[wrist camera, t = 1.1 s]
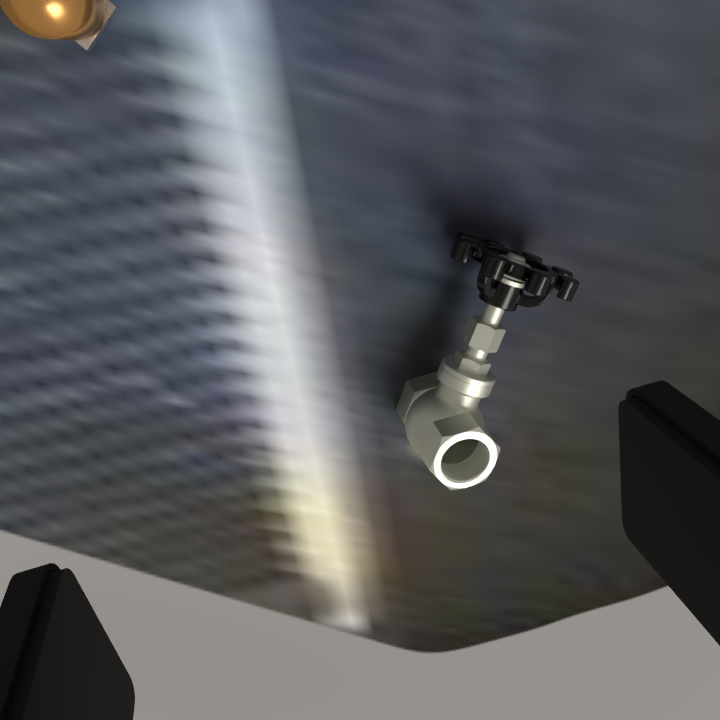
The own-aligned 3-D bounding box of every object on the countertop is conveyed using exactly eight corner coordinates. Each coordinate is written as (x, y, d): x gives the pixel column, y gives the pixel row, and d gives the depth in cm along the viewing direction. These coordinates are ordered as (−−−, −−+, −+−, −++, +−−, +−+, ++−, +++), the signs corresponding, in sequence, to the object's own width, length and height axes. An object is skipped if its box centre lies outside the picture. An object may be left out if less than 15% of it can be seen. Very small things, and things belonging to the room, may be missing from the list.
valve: (462, 439, 41) (542, 255, 37) (505, 504, 35) (607, 293, 31) (362, 419, 39) (436, 221, 35) (391, 485, 33) (484, 256, 29)
